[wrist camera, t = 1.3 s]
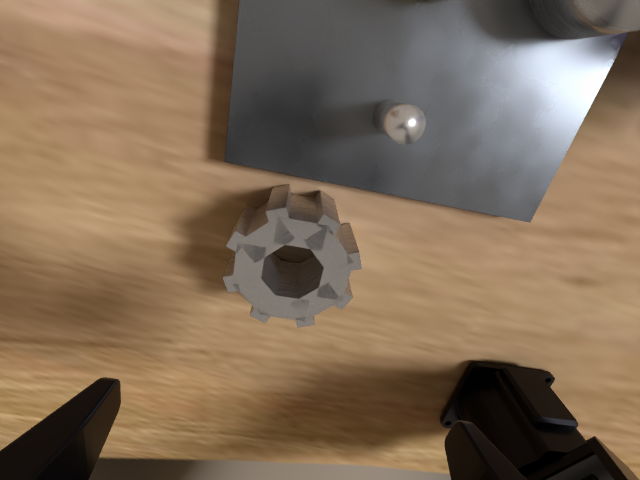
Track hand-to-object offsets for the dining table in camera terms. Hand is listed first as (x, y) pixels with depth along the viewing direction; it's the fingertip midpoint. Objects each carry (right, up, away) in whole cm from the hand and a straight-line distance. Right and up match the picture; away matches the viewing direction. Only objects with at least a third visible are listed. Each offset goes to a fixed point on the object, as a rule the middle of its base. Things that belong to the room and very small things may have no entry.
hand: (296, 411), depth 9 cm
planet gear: (-1, +5, +10) cm, 11 cm away
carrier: (+6, +14, +6) cm, 16 cm away
